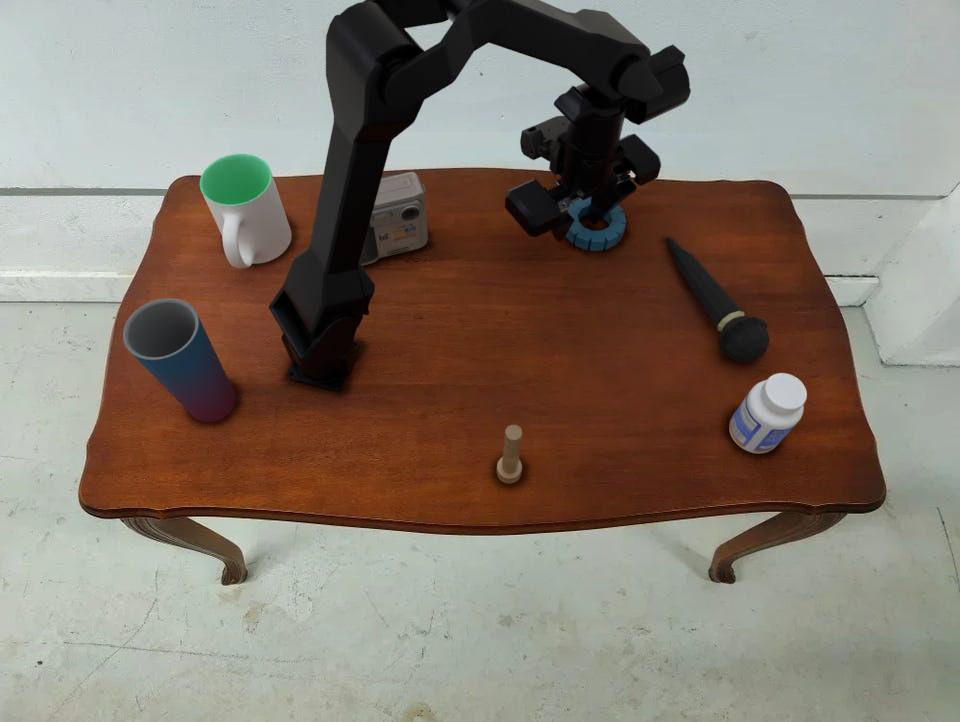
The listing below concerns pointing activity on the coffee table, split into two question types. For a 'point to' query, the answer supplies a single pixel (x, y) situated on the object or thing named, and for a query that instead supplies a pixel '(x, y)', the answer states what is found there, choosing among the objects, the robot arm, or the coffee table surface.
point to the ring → (595, 238)
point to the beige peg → (510, 456)
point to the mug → (246, 209)
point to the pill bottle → (768, 413)
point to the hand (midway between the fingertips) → (574, 231)
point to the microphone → (723, 311)
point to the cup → (180, 357)
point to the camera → (396, 218)
